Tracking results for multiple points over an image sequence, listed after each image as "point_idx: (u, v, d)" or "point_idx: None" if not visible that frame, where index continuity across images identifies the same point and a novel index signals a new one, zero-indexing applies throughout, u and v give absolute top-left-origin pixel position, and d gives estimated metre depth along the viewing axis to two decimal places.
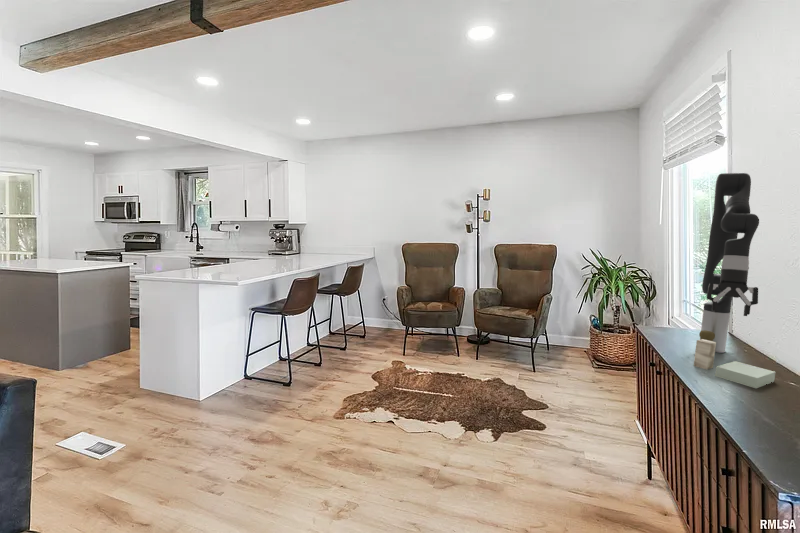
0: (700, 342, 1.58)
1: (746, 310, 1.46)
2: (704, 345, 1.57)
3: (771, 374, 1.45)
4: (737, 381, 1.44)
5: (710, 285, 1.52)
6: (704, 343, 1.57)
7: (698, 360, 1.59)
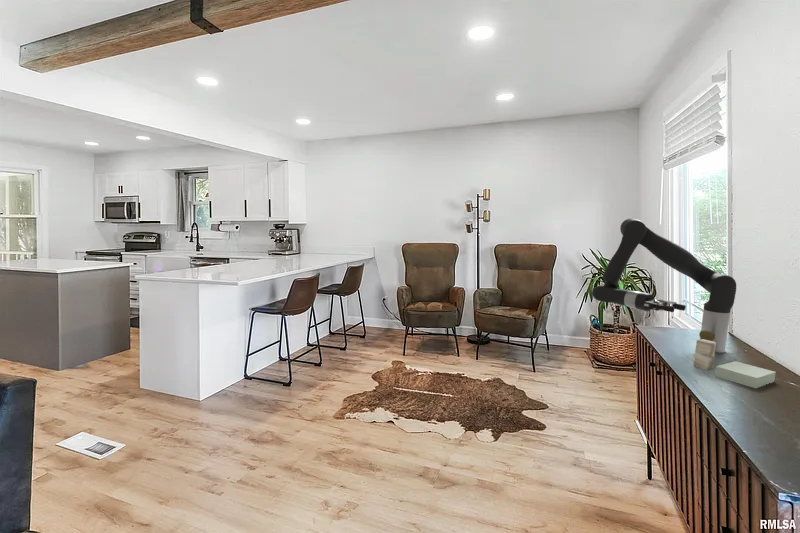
0: (700, 342, 1.58)
1: None
2: (704, 345, 1.57)
3: (771, 374, 1.45)
4: (737, 381, 1.44)
5: None
6: (704, 343, 1.57)
7: (698, 360, 1.59)
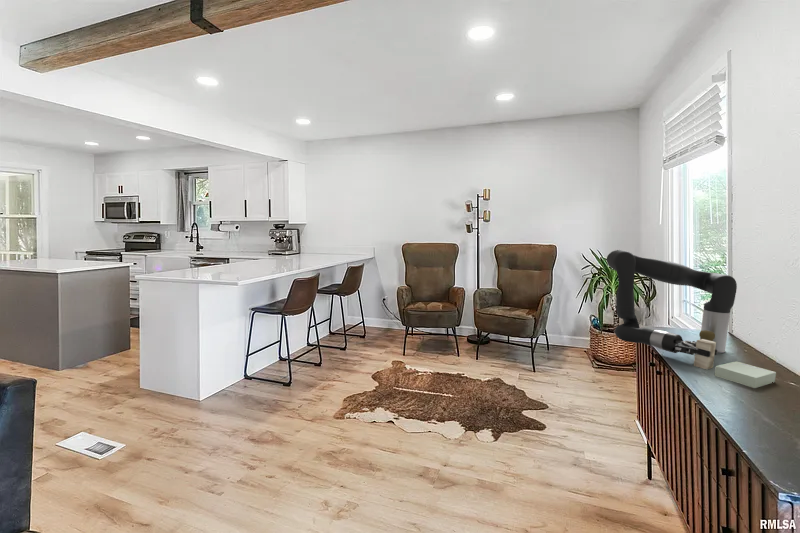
0: (700, 342, 1.58)
1: None
2: (704, 345, 1.57)
3: (771, 374, 1.45)
4: (736, 381, 1.44)
5: None
6: (704, 343, 1.57)
7: (698, 359, 1.59)
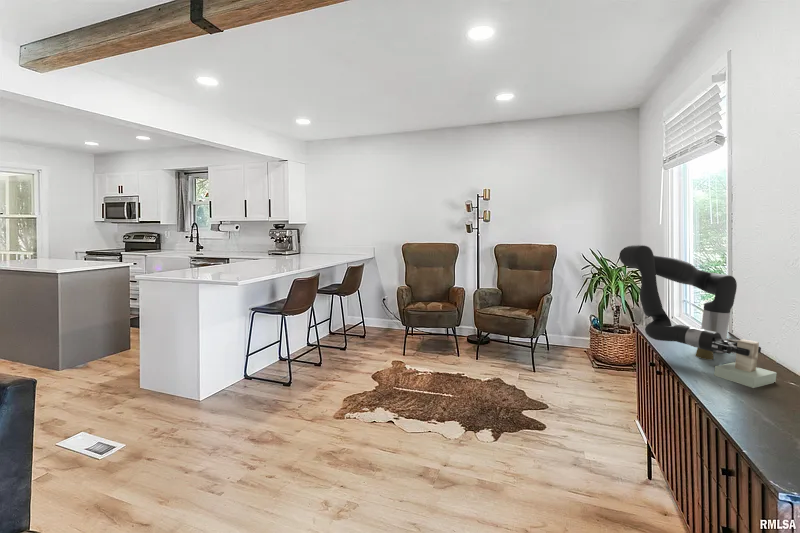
0: (742, 342, 1.47)
1: None
2: (746, 346, 1.45)
3: (771, 375, 1.44)
4: (735, 381, 1.45)
5: None
6: (746, 343, 1.45)
7: (740, 361, 1.47)
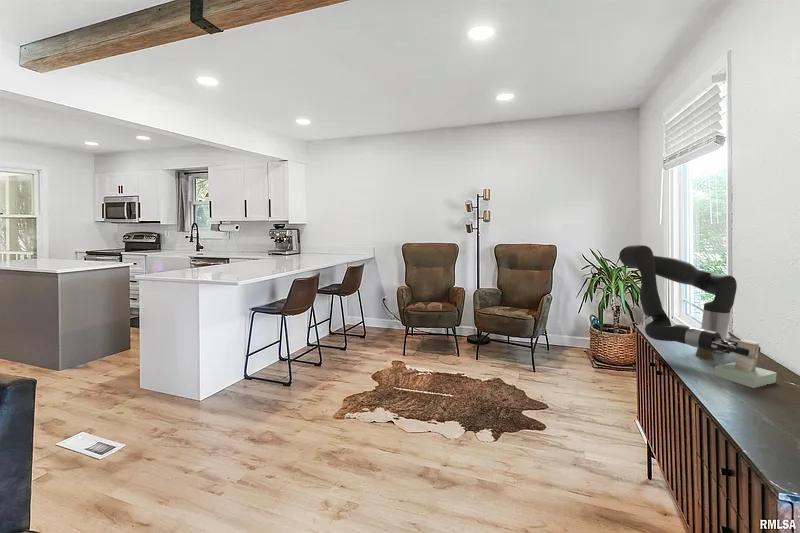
0: (742, 343, 1.46)
1: None
2: (747, 346, 1.45)
3: (771, 375, 1.44)
4: (735, 381, 1.45)
5: None
6: (747, 344, 1.45)
7: (740, 362, 1.47)
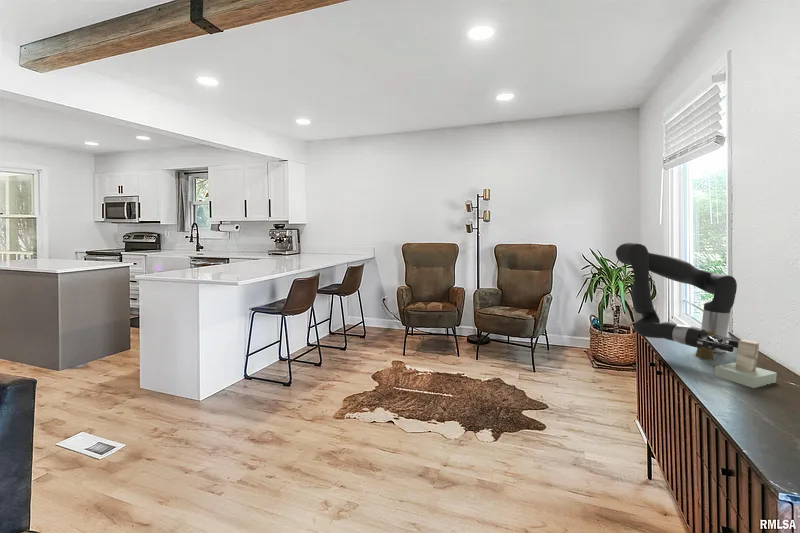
0: (743, 343, 1.46)
1: None
2: (748, 346, 1.45)
3: (772, 375, 1.44)
4: (735, 381, 1.45)
5: None
6: (748, 344, 1.45)
7: (741, 362, 1.47)
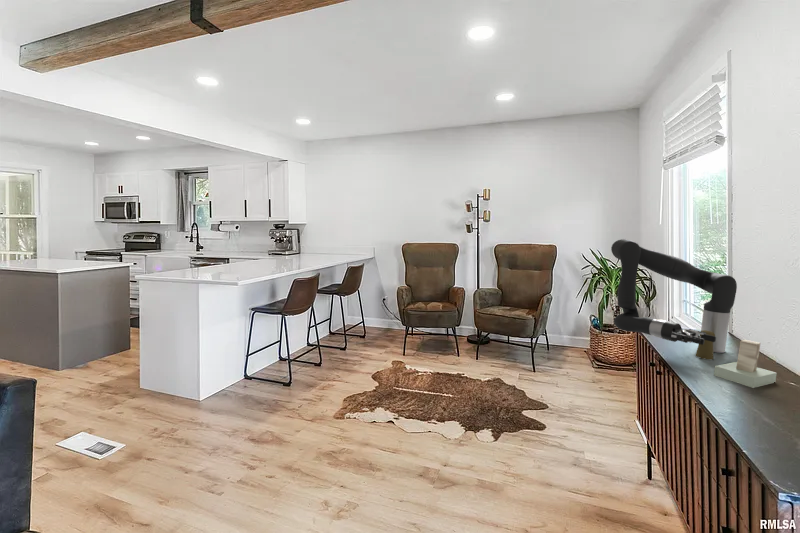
0: (744, 343, 1.46)
1: None
2: (749, 346, 1.45)
3: (771, 375, 1.44)
4: (735, 381, 1.45)
5: None
6: (749, 344, 1.45)
7: (742, 362, 1.47)
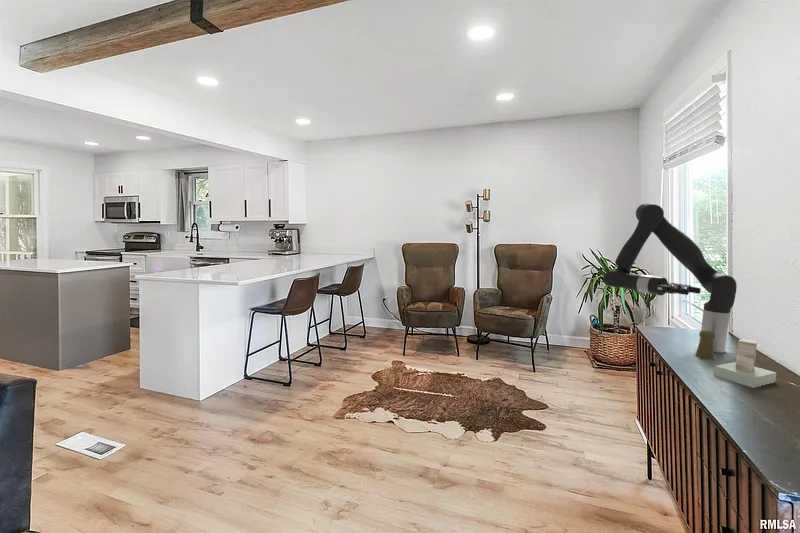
0: (742, 343, 1.46)
1: None
2: (747, 346, 1.45)
3: (771, 375, 1.44)
4: (735, 380, 1.45)
5: None
6: (747, 344, 1.45)
7: (741, 362, 1.47)
